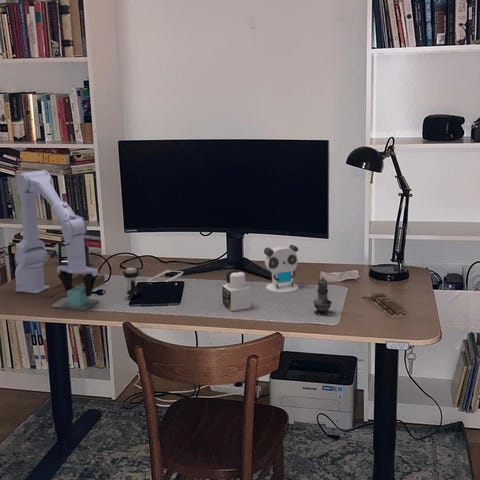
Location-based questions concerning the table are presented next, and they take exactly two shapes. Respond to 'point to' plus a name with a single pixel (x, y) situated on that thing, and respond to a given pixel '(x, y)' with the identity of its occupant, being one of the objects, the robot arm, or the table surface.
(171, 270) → the phone case
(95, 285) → the channel
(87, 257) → the supplement bottle
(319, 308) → the dark grey chess piece
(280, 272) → the panda figurine
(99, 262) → the table surface
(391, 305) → the olive brown jagged slab
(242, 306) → the medicine bottle
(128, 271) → the push button
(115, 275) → the table surface
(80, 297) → the block
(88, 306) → the pad
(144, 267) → the table surface
